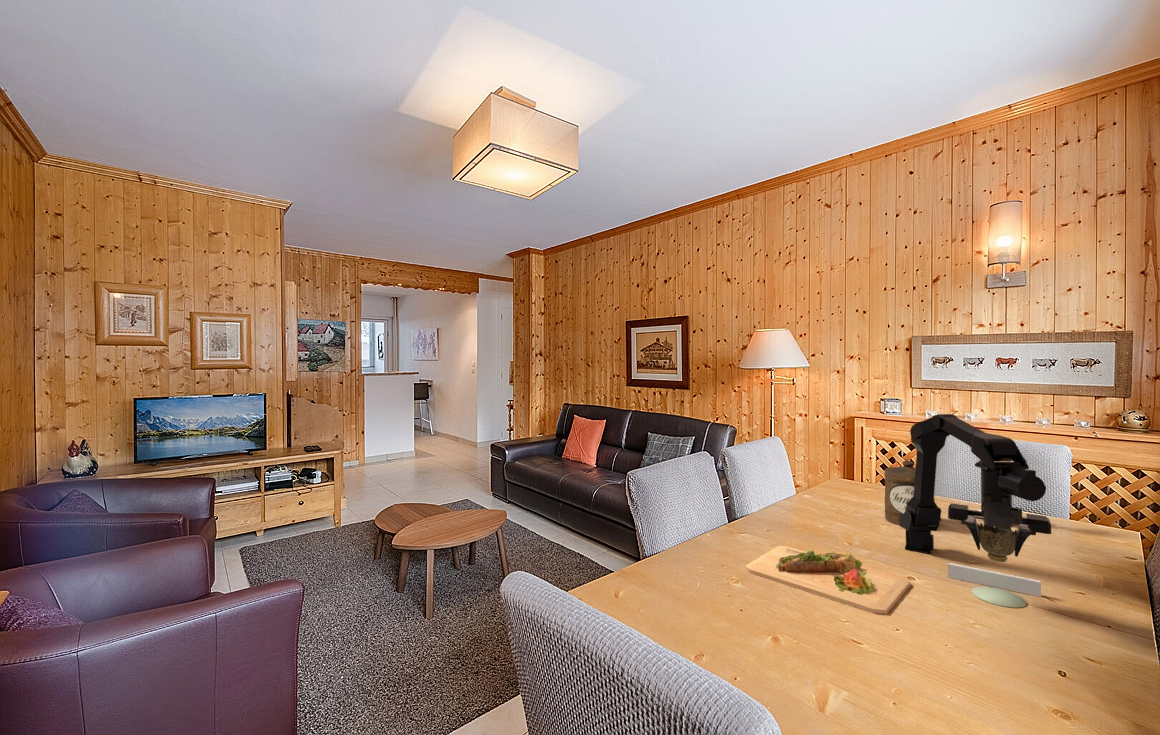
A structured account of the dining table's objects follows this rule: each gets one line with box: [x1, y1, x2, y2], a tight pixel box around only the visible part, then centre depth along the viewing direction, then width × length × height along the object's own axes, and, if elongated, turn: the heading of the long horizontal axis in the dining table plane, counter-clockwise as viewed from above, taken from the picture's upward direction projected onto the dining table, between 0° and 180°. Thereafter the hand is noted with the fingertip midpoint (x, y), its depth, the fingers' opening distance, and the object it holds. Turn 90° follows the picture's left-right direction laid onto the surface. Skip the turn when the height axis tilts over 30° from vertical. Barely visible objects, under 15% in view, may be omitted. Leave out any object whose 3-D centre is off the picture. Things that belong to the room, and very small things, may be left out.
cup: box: [977, 522, 1018, 563], centre depth 117 cm, size 8×7×8 cm
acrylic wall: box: [947, 562, 1042, 598], centre depth 123 cm, size 18×1×4 cm, turn 50°
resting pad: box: [971, 586, 1027, 609], centre depth 117 cm, size 10×10×1 cm
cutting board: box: [744, 545, 911, 615], centre depth 131 cm, size 35×23×8 cm
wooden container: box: [884, 459, 936, 526], centre depth 173 cm, size 15×15×22 cm
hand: (997, 552), depth 117 cm, fingers closed on cup, 6 cm apart
